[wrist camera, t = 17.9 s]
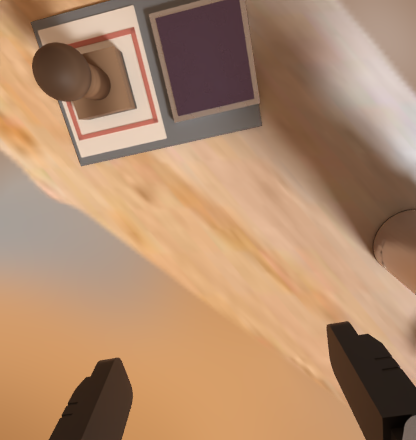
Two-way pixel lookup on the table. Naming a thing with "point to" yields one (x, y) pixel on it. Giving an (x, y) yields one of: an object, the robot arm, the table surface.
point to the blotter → (139, 79)
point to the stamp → (85, 79)
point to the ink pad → (206, 57)
